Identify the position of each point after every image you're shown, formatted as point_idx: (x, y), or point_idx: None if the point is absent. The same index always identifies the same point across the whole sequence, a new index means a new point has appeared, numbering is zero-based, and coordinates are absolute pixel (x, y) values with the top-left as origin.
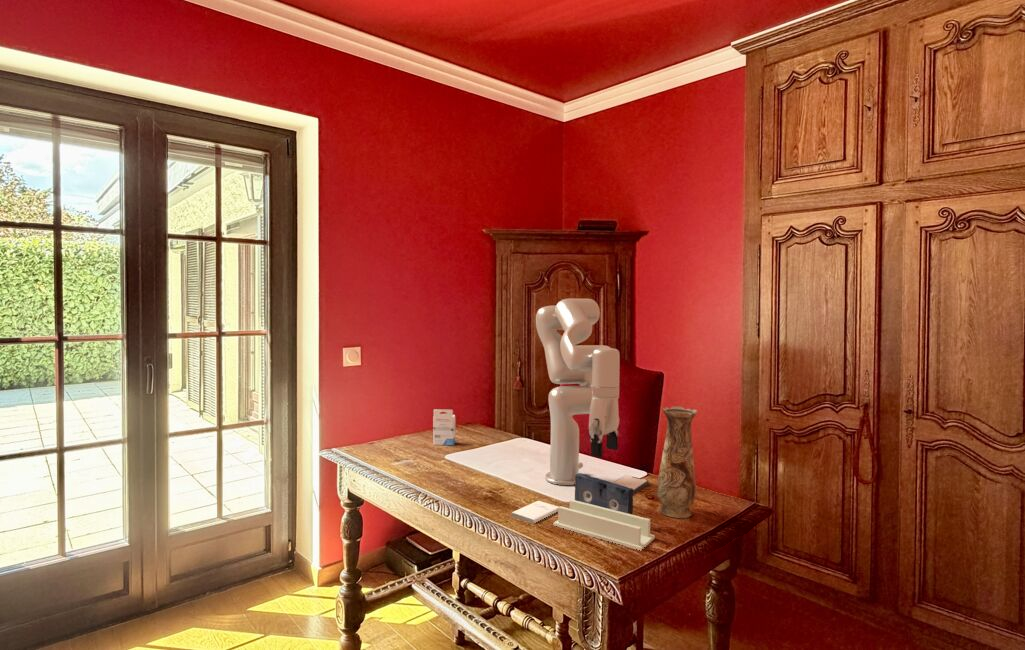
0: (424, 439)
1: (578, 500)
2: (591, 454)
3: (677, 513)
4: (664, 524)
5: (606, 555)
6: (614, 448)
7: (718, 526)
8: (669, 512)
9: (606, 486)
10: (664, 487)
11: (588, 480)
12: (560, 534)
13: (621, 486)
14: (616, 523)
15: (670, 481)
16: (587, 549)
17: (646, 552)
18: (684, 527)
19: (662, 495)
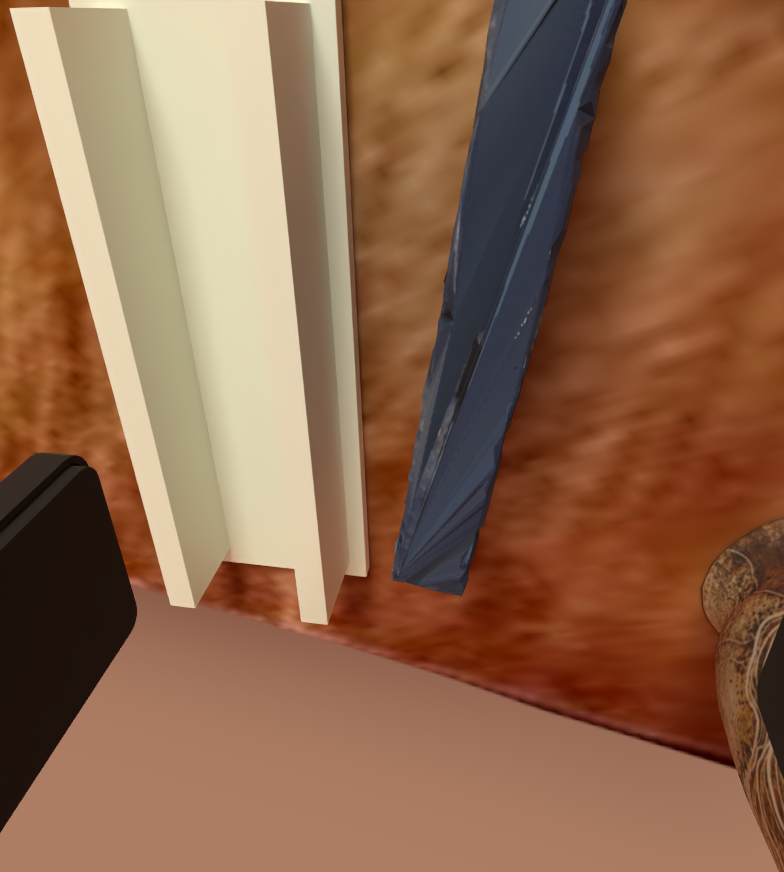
0: None
1: None
2: (31, 470)
3: (722, 627)
4: (576, 571)
5: (50, 443)
6: (773, 687)
7: (689, 751)
8: (724, 590)
9: (429, 367)
10: None
11: (477, 108)
12: (22, 117)
13: (454, 510)
14: (144, 497)
15: (763, 793)
16: (19, 348)
17: None
18: (590, 647)
19: (755, 638)
